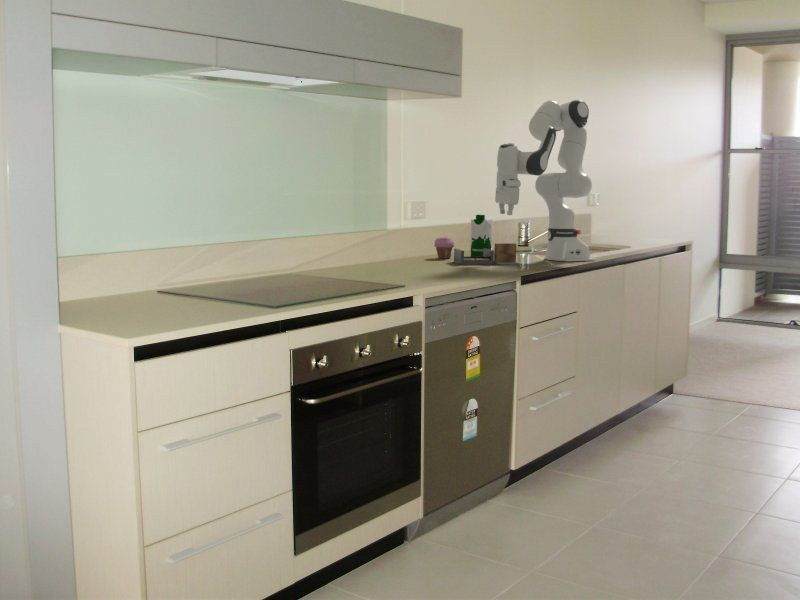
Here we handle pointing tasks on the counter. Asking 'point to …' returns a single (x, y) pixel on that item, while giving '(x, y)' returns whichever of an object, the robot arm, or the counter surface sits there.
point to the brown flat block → (505, 252)
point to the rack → (486, 255)
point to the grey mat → (506, 263)
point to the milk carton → (480, 235)
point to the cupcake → (444, 247)
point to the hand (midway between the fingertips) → (506, 214)
